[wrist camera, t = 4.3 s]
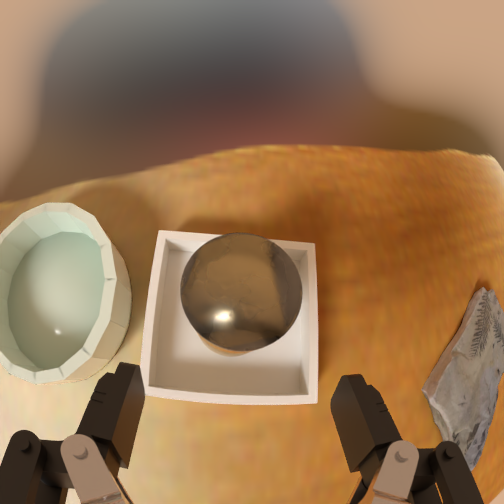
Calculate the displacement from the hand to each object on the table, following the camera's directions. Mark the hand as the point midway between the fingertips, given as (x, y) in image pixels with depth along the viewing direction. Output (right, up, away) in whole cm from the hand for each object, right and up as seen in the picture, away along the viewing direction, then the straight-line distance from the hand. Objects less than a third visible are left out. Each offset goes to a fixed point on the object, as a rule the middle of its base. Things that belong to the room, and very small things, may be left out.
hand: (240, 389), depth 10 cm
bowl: (-15, +1, +8) cm, 17 cm away
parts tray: (-1, 0, +10) cm, 10 cm away
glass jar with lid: (-1, 0, +9) cm, 9 cm away
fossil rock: (+24, -9, +10) cm, 28 cm away
